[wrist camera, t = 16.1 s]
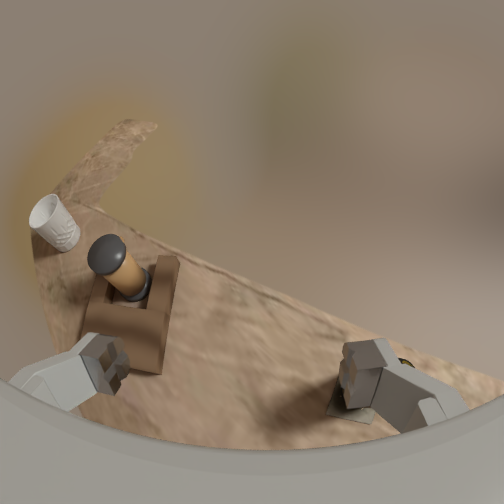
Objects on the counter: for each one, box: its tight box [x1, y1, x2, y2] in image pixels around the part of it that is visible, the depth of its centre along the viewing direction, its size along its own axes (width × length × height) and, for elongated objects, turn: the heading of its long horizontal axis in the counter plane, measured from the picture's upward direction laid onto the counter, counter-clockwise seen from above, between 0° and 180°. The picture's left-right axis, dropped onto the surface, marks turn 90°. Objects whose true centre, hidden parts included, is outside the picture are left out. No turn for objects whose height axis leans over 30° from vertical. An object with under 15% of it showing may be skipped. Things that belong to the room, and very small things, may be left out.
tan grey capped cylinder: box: [87, 234, 152, 302], centre depth 37 cm, size 7×6×11 cm
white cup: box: [29, 194, 80, 252], centre depth 43 cm, size 8×8×10 cm
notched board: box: [80, 255, 180, 375], centre depth 38 cm, size 18×14×2 cm
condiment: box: [326, 358, 415, 424], centre depth 27 cm, size 7×8×12 cm
